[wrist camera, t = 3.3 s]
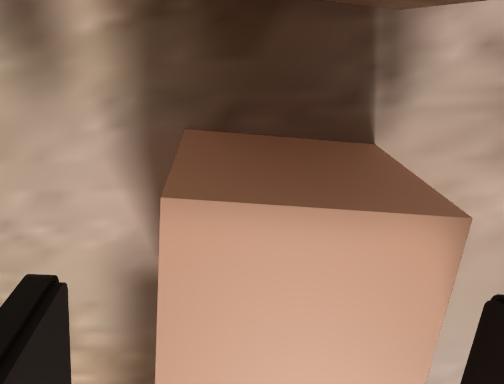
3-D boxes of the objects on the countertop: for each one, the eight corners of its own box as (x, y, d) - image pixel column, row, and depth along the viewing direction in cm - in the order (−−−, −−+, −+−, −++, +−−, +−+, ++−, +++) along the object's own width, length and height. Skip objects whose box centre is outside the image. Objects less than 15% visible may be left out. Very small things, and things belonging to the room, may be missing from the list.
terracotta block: (185, 128, 14) (160, 197, 8) (373, 143, 14) (472, 218, 9) (177, 296, 16) (153, 444, 10) (343, 304, 16) (406, 447, 11)
